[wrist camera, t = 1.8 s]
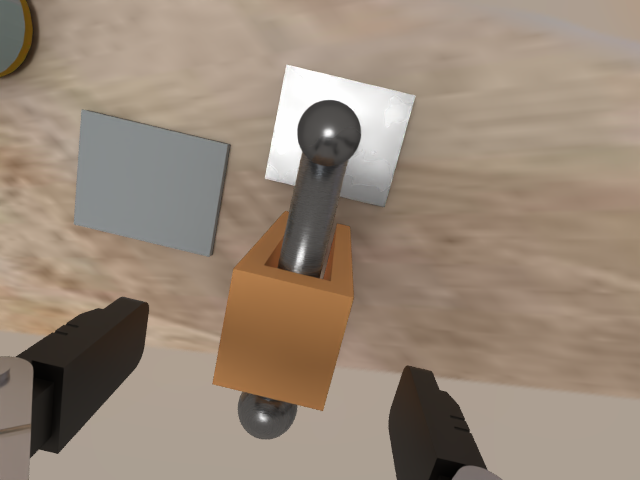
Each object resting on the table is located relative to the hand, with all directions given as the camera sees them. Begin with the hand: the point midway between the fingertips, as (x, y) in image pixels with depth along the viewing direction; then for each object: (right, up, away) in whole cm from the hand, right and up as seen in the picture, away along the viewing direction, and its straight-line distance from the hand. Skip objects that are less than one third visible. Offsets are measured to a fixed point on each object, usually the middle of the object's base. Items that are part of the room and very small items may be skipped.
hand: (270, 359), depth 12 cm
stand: (+2, +6, +15) cm, 16 cm away
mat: (-10, +8, +15) cm, 20 cm away
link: (+1, +3, +12) cm, 12 cm away
